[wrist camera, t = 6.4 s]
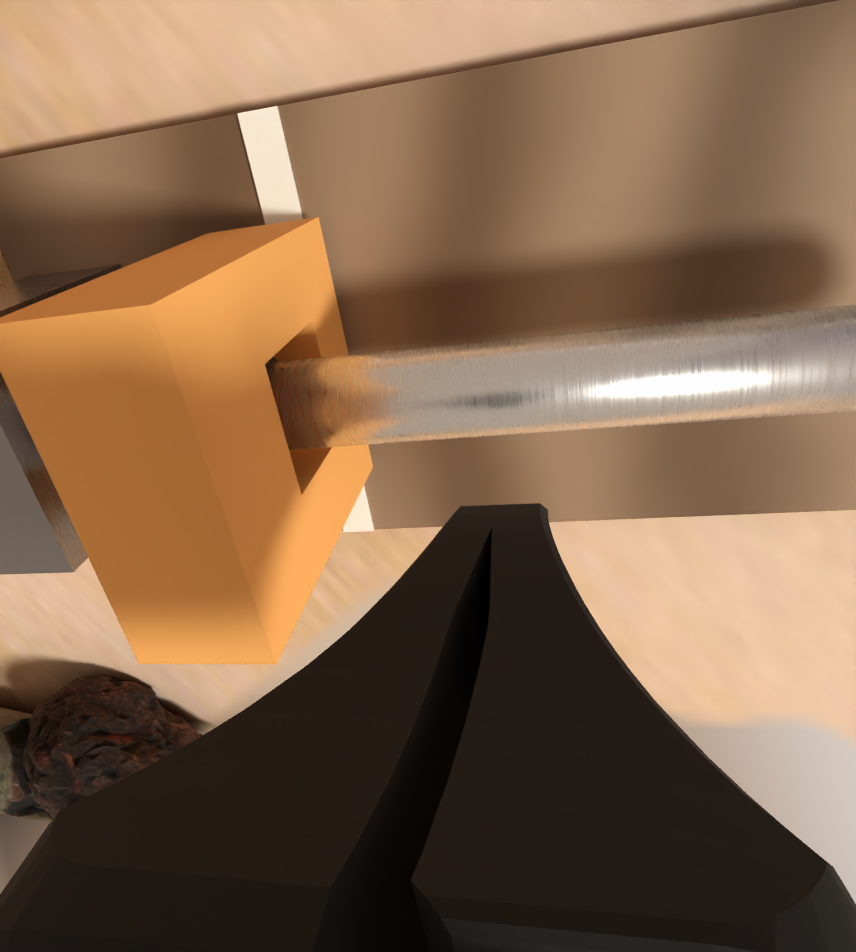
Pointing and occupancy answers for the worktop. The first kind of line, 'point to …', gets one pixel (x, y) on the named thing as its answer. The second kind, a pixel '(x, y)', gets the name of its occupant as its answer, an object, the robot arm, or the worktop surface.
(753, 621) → the worktop surface
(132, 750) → the dark brown lumpy piece
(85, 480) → the collar
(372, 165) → the rod stand
